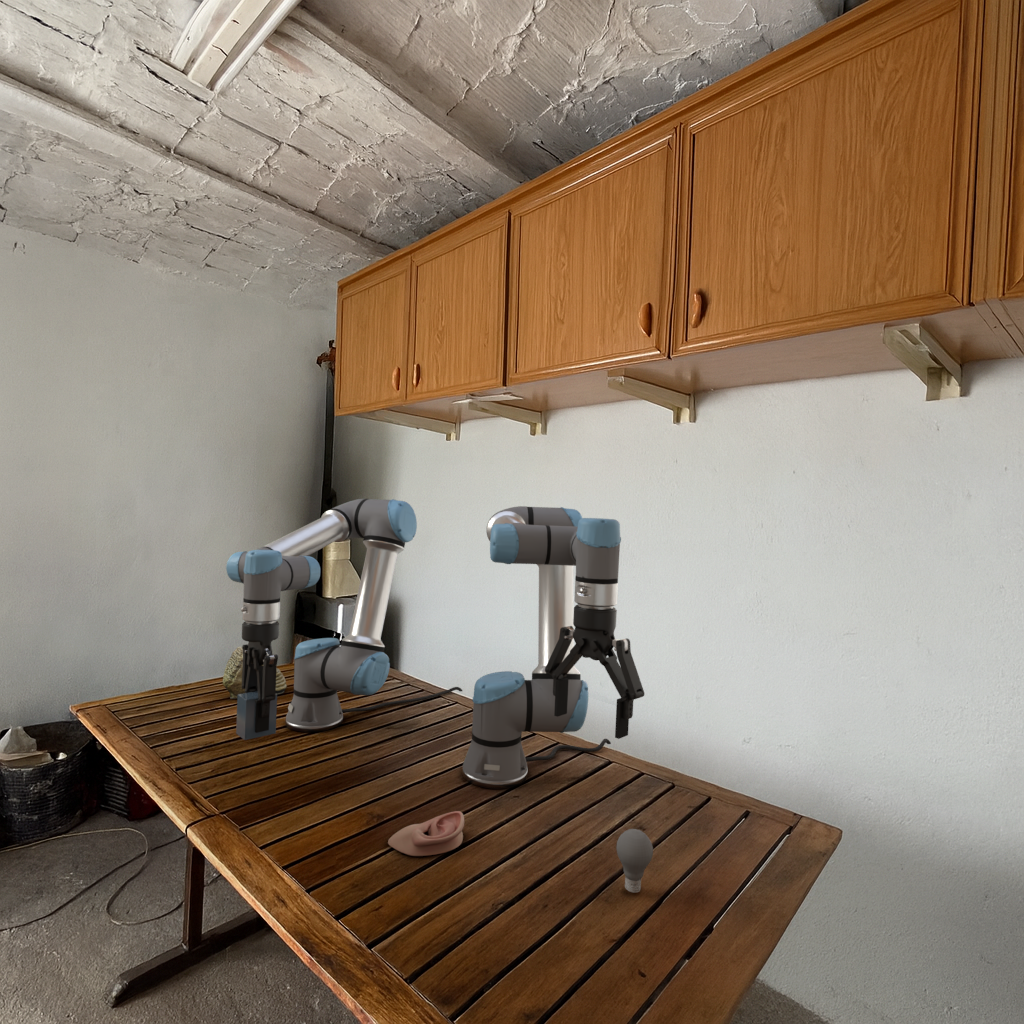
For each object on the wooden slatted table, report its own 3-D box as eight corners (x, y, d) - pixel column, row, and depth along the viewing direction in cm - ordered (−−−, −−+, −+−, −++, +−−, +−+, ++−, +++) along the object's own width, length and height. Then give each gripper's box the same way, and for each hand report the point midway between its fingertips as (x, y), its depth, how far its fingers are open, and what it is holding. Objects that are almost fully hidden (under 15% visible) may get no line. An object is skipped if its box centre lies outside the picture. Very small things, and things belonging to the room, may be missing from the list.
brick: (235, 733, 138) (237, 694, 138) (266, 727, 142) (268, 689, 142) (244, 740, 134) (246, 700, 134) (275, 733, 139) (277, 694, 139)
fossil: (218, 695, 195) (220, 647, 195) (278, 685, 208) (279, 640, 207) (228, 703, 189) (230, 653, 188) (289, 692, 201) (290, 645, 201)
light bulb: (610, 879, 108) (613, 822, 108) (644, 879, 109) (647, 822, 109) (619, 902, 102) (622, 840, 102) (655, 901, 103) (658, 840, 103)
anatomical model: (381, 829, 114) (405, 800, 125) (380, 851, 114) (404, 820, 125) (452, 840, 111) (469, 809, 122) (451, 862, 111) (469, 830, 123)
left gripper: (228, 616, 142) (224, 719, 142) (260, 630, 129) (255, 743, 129) (261, 613, 147) (257, 712, 147) (295, 626, 134) (291, 735, 135)
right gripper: (529, 597, 118) (524, 710, 118) (643, 619, 100) (637, 752, 101) (556, 594, 123) (551, 702, 124) (668, 614, 105) (662, 741, 106)
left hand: (256, 727), depth 138 cm, fingers closed on brick, 5 cm apart
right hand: (589, 725), depth 112 cm, fingers open, 13 cm apart
